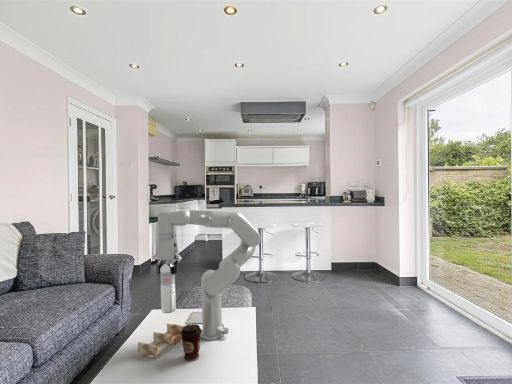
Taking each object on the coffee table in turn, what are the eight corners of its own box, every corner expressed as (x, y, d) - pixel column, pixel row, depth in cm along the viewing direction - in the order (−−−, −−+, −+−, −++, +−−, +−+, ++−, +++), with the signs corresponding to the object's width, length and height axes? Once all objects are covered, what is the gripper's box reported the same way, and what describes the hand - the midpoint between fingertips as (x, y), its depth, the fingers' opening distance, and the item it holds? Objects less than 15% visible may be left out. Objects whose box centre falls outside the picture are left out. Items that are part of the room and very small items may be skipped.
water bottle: (178, 308, 141) (177, 257, 142) (170, 314, 135) (168, 261, 135) (167, 307, 144) (165, 257, 144) (158, 312, 137) (156, 260, 137)
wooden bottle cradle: (186, 336, 142) (185, 326, 142) (157, 359, 123) (157, 347, 123) (168, 333, 146) (167, 323, 146) (138, 354, 127) (137, 342, 127)
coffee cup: (191, 365, 118) (190, 333, 118) (177, 360, 122) (176, 329, 122) (205, 355, 125) (205, 325, 125) (191, 350, 129) (191, 321, 129)
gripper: (186, 236, 140) (187, 272, 140) (157, 235, 146) (158, 270, 146) (176, 238, 133) (177, 277, 133) (146, 237, 139) (147, 274, 139)
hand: (167, 273), depth 139 cm, fingers closed on water bottle, 6 cm apart
